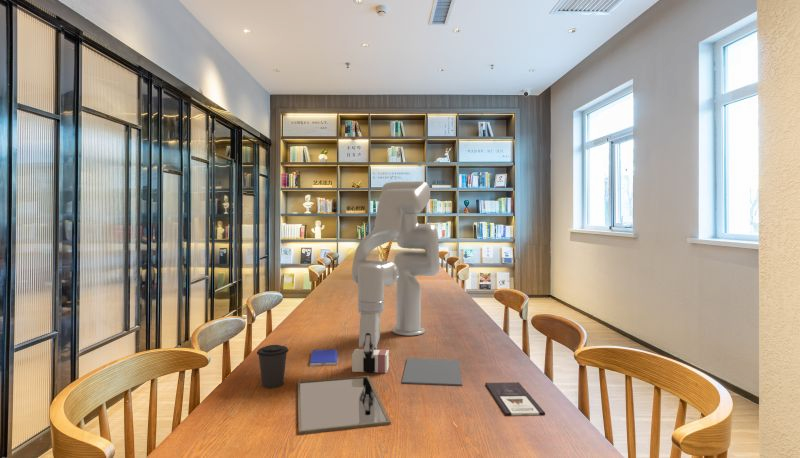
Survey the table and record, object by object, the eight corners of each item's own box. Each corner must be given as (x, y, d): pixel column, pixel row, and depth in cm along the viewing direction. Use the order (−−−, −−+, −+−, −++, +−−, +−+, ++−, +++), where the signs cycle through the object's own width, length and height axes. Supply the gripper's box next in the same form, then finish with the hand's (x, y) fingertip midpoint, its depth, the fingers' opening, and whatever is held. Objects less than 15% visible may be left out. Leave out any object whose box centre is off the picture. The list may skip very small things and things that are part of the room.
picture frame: (390, 426, 92) (368, 379, 120) (390, 421, 92) (368, 375, 120) (298, 436, 88) (297, 385, 115) (298, 431, 88) (297, 381, 115)
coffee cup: (261, 392, 109) (261, 353, 109) (253, 382, 116) (253, 345, 116) (292, 386, 113) (292, 348, 113) (283, 376, 120) (283, 340, 120)
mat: (407, 359, 135) (407, 358, 135) (458, 360, 134) (458, 359, 134) (401, 383, 115) (401, 381, 115) (462, 385, 114) (462, 384, 114)
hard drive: (312, 349, 141) (309, 362, 129) (337, 349, 142) (337, 361, 130) (312, 354, 141) (309, 367, 129) (337, 353, 143) (337, 366, 130)
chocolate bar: (518, 382, 115) (545, 412, 97) (518, 385, 115) (544, 416, 97) (485, 382, 115) (505, 413, 97) (485, 386, 115) (505, 417, 97)
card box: (352, 371, 124) (352, 354, 124) (355, 365, 129) (355, 348, 129) (386, 372, 123) (386, 355, 123) (388, 366, 128) (388, 349, 128)
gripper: (363, 300, 135) (363, 358, 135) (352, 312, 118) (352, 378, 118) (387, 301, 134) (387, 359, 134) (379, 312, 117) (379, 379, 117)
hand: (370, 367), depth 126 cm, fingers closed on card box, 5 cm apart
